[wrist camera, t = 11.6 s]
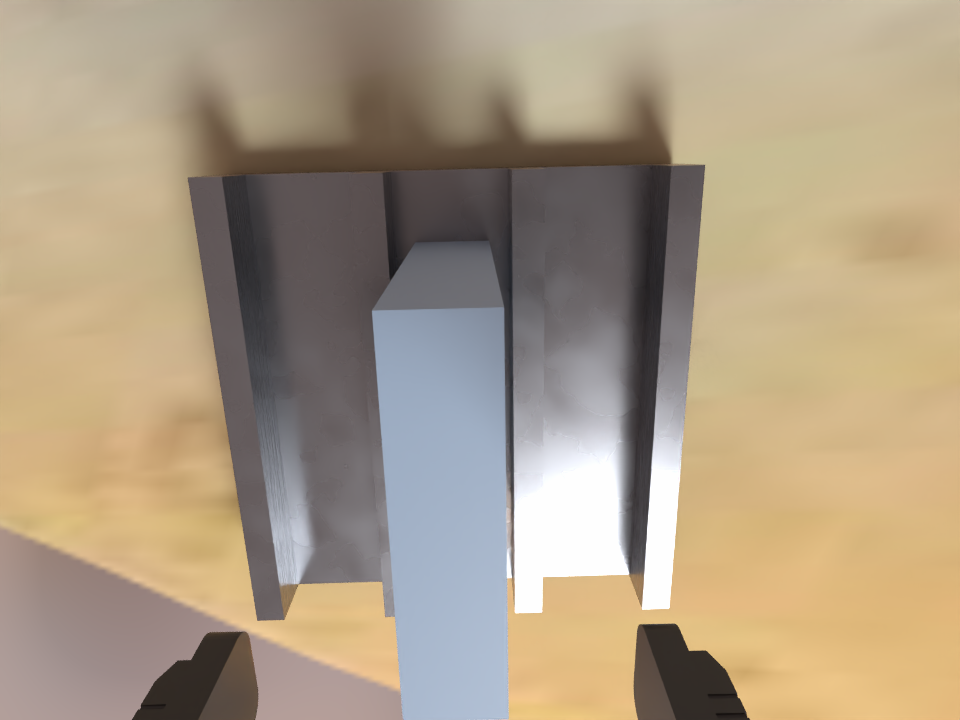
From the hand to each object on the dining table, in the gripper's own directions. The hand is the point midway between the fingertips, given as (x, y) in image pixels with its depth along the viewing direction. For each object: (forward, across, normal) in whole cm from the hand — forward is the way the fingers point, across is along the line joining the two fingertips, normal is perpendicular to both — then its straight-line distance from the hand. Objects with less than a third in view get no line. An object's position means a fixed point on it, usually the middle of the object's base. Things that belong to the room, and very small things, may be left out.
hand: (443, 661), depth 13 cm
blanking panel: (+15, 0, 0) cm, 16 cm away
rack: (+16, 0, 0) cm, 17 cm away
